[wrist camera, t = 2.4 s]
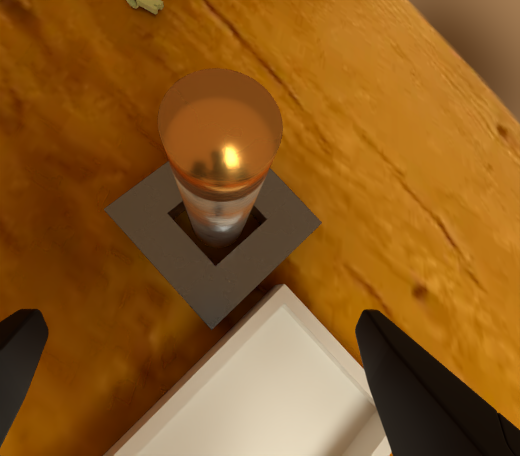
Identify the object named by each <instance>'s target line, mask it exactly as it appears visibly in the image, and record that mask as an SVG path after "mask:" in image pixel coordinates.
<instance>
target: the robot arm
mask: <svg viewBox="0 0 520 456" xmlns="http://www.w3.org/2000/svg"><path fill="white" fill-rule="evenodd" d="M355 333H356V338H357V342H358V346H359V350H360V354H361V358H362V363H363V367H364V371H365V375H366V379H367V382H368V386H369V389H370V392H371V395H372V397H373V400H374V403H375V406H376V409H377V411H378V414H379V417H380V420H381V423H382V426H383V428H384V431H385V434H386V437H387V440H388V443H389V445H390V448H391V451H392V454H393V456H520V430H519V429H518V428H517V427H516V426H514V425H513V424H512V423H511V422H510V421H508V420H507V419H506V418H505V417H504V416H503V415H501V414H500V413H497V411H496V410H495V409H494V408H493V407H492V406H491V405H489V404H488V403H487V402H486V401H485V400H484V399H482V398H481V397H480V396H479V395H478V394H477V393H475V392H474V391H473V390H472V389H471V388H469V387H468V386H467V385H466V384H465V383H464V382H462V381H461V380H460V379H459V378H458V377H456V376H455V375H454V374H453V373H452V372H451V371H449V370H448V369H447V368H446V367H445V366H443V365H442V364H441V363H440V362H439V361H438V360H436V359H435V358H434V357H433V356H432V355H431V354H429V353H428V352H427V351H426V350H425V349H423V348H422V347H421V346H420V345H419V344H418V343H416V342H415V341H414V340H413V339H412V338H410V337H409V336H408V335H407V334H406V333H405V332H403V331H402V330H401V329H400V328H399V327H397V326H396V325H395V324H394V323H393V322H392V321H390V320H389V319H388V318H387V317H386V316H385V315H383V314H382V313H381V312H380V311H378V310H374V309H366V310H364V311H363V312H362V314H361V316H360V318H359V320H358V323H357V325H356V329H355ZM47 338H48V327H47V325H46V322H45V320H44V318H43V315H42V313H41V311H40V310H38V309H20V310H18V311H16V312H15V313H13V314H12V315H10V316H9V317H7V318H6V319H4V320H3V321H1V322H0V447H1V445H2V443H3V441H4V439H5V437H6V435H7V433H8V431H9V429H10V427H11V425H12V423H13V421H14V419H15V417H16V415H17V413H18V411H19V409H20V407H21V405H22V403H23V400H24V398H25V396H26V394H27V391H28V389H29V386H30V384H31V381H32V378H33V376H34V373H35V370H36V368H37V365H38V362H39V360H40V357H41V354H42V352H43V349H44V346H45V344H46V341H47Z"/></svg>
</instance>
